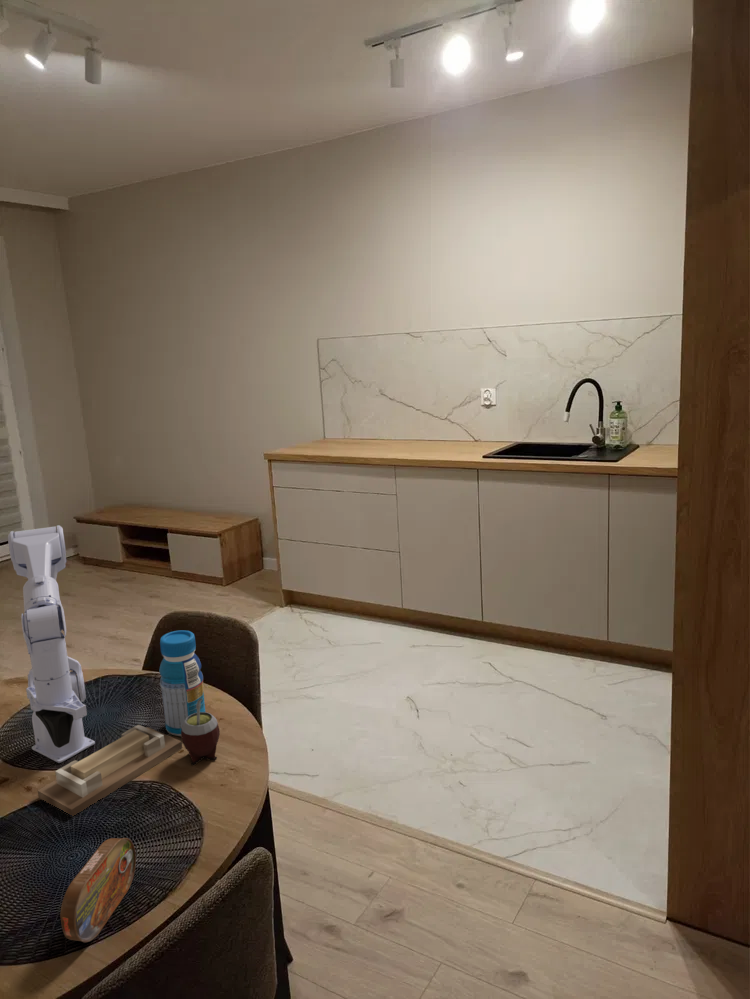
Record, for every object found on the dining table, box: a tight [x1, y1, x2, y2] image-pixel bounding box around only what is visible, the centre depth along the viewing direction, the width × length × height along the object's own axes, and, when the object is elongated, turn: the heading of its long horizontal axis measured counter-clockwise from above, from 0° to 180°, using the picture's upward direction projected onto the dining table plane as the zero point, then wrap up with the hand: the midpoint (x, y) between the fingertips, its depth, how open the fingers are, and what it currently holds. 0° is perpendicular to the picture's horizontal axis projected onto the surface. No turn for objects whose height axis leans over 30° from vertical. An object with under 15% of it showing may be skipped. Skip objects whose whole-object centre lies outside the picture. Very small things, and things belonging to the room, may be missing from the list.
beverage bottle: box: [159, 629, 206, 737], centre depth 147 cm, size 8×8×20 cm
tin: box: [59, 837, 137, 943], centre depth 102 cm, size 15×3×8 cm, turn 168°
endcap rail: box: [37, 724, 183, 817], centre depth 135 cm, size 10×24×4 cm, turn 146°
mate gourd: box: [180, 698, 221, 766], centre depth 137 cm, size 8×8×15 cm
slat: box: [71, 730, 149, 780], centre depth 134 cm, size 4×14×3 cm, turn 146°
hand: (62, 744), depth 128 cm, fingers closed
